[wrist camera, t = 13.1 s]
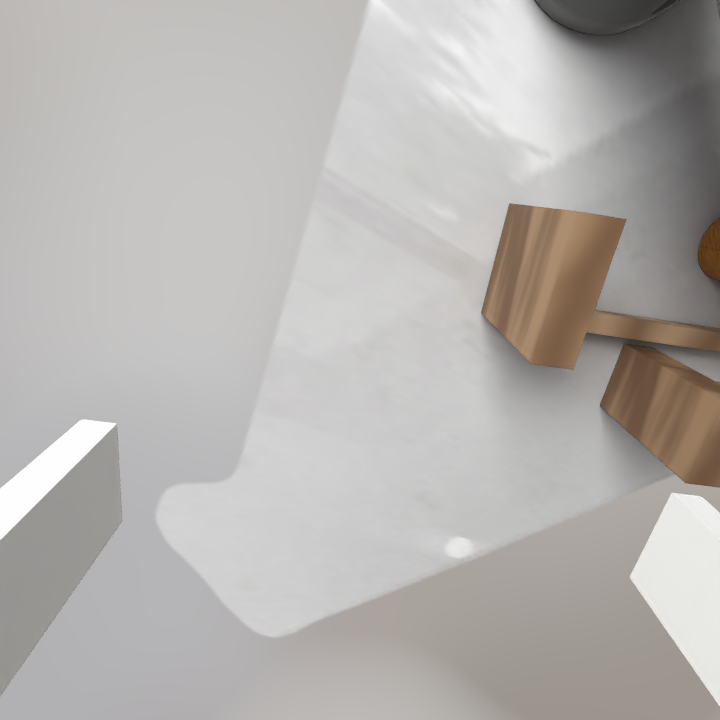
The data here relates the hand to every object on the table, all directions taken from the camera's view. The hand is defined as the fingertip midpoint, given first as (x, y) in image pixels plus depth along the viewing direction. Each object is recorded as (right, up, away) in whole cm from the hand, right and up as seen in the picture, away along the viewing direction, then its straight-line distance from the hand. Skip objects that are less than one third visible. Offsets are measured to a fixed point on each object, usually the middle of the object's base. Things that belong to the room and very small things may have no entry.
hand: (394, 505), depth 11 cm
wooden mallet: (+31, +1, +35) cm, 47 cm away
